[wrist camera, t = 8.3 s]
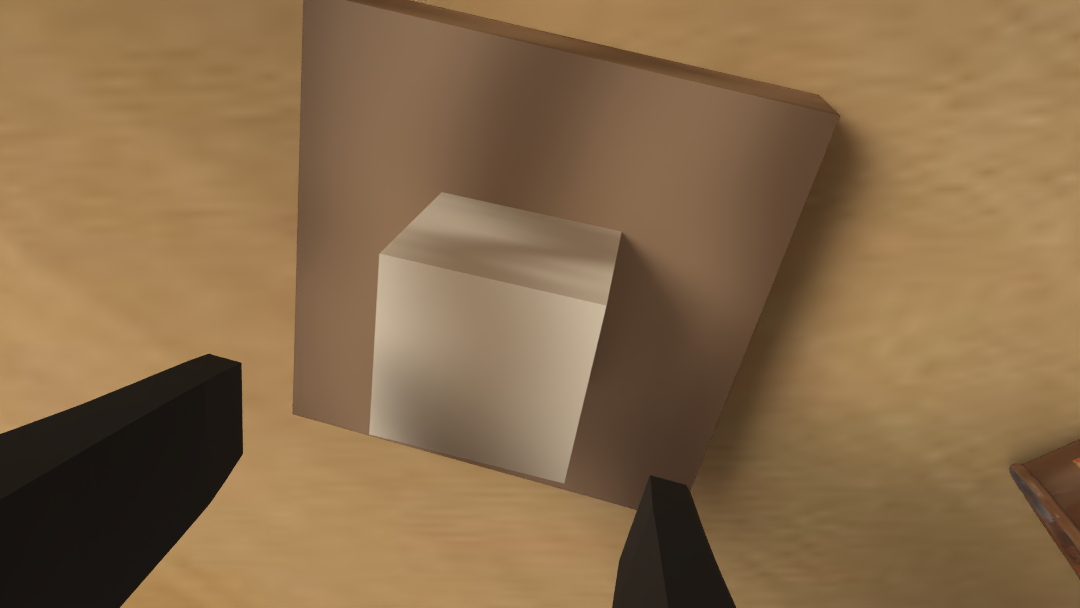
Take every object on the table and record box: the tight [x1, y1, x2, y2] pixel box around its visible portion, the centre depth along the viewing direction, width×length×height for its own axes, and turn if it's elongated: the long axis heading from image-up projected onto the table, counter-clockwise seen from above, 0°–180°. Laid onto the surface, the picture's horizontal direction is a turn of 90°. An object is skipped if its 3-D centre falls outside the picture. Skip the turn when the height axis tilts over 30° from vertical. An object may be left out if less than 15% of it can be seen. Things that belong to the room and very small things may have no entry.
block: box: [369, 192, 621, 483], centre depth 16 cm, size 4×4×4 cm
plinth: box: [293, 0, 840, 510], centre depth 19 cm, size 12×12×2 cm
